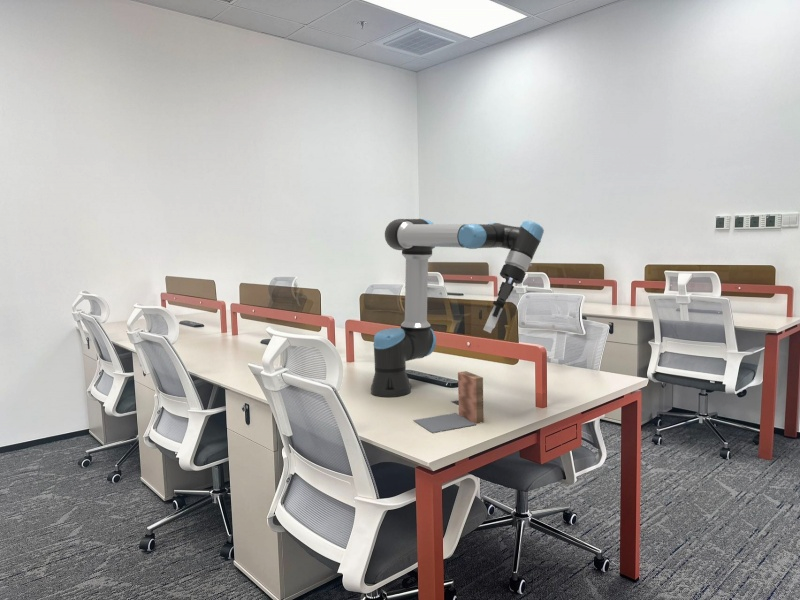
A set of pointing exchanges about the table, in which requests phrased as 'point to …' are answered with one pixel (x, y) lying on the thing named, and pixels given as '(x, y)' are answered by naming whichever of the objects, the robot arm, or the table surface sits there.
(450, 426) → the felt mat
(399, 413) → the table surface
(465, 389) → the mottled brown tile
